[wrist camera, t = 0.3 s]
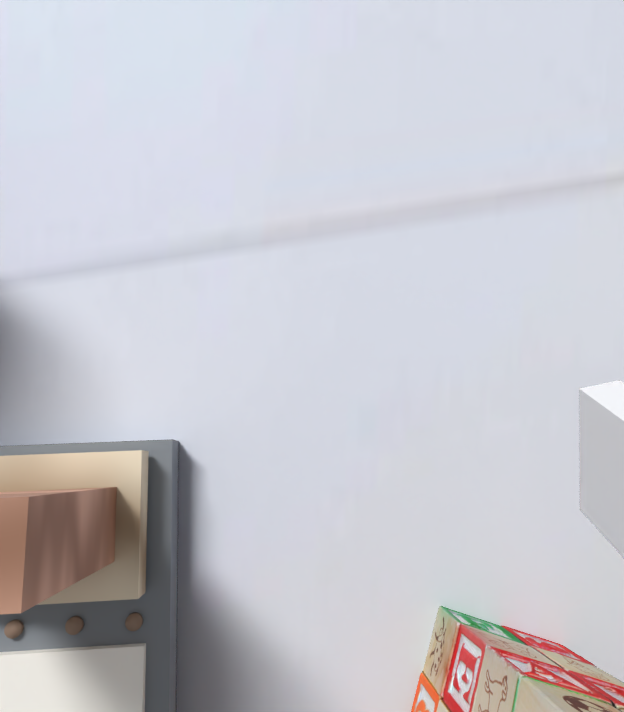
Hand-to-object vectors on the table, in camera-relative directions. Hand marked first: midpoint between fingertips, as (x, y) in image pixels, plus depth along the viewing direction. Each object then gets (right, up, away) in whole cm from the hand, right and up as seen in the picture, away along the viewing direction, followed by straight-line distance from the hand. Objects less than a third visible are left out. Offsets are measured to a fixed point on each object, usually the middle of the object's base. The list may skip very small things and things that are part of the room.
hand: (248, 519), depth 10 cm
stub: (-10, -4, +13) cm, 17 cm away
